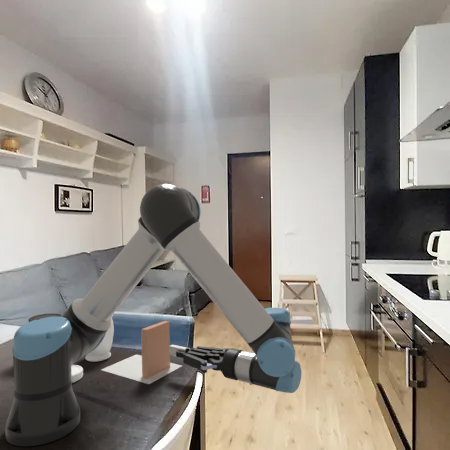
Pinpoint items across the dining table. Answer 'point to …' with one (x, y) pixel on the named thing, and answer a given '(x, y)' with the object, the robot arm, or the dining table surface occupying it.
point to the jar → (103, 347)
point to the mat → (137, 369)
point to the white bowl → (76, 373)
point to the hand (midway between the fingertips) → (170, 349)
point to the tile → (155, 348)
